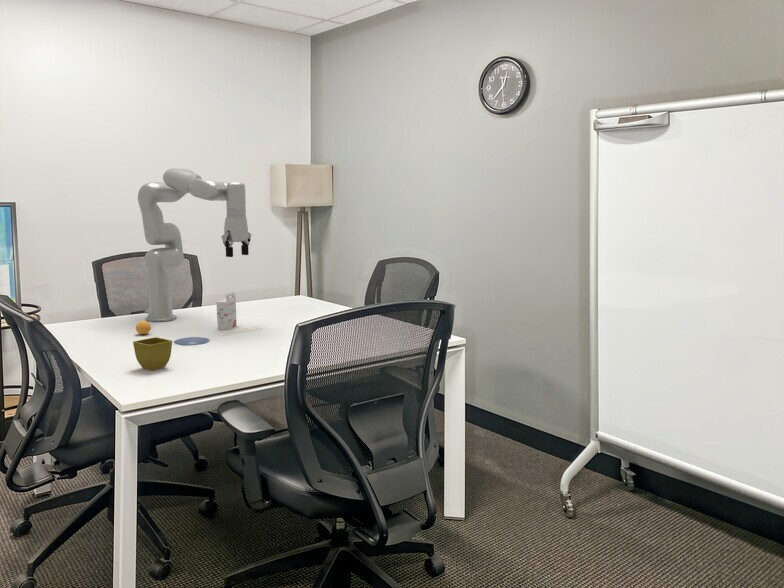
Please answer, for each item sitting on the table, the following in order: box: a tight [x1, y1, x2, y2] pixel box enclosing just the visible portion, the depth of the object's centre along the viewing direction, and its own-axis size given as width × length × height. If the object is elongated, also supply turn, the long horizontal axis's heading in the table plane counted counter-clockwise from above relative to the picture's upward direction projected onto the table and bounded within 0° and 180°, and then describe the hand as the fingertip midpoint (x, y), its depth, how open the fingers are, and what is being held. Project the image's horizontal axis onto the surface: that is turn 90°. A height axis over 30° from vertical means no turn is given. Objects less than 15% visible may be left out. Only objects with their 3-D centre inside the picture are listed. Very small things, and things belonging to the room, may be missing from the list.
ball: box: [135, 320, 152, 335], centre depth 251 cm, size 6×6×6 cm
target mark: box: [173, 336, 210, 346], centre depth 241 cm, size 13×13×1 cm
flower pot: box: [132, 336, 173, 371], centre depth 203 cm, size 9×9×9 cm
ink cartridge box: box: [215, 292, 238, 331], centre depth 265 cm, size 9×5×15 cm, turn 168°
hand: (237, 255), depth 258 cm, fingers open, 9 cm apart
